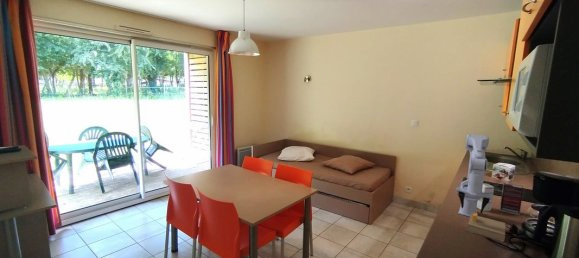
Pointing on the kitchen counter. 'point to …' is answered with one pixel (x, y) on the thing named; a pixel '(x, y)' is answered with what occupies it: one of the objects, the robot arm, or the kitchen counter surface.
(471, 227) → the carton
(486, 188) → the syrup box
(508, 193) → the supplement box
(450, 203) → the kitchen counter surface
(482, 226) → the lid panel
